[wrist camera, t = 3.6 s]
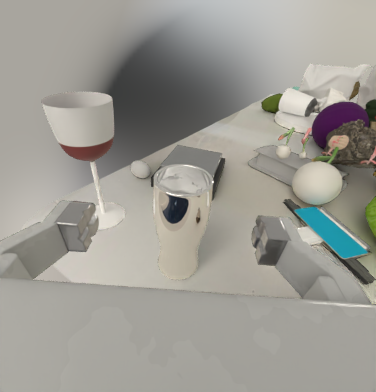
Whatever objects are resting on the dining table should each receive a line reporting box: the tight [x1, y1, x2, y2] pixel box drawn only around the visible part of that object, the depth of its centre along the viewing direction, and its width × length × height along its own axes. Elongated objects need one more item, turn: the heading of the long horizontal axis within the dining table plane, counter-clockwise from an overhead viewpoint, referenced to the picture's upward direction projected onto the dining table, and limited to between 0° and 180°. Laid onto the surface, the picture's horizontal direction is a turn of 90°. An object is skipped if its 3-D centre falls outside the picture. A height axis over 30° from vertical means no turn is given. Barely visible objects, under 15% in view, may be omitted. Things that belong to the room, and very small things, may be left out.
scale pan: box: [161, 145, 222, 178], centre depth 51 cm, size 12×12×1 cm
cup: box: [279, 88, 318, 117], centre depth 93 cm, size 10×10×13 cm
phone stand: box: [283, 199, 376, 284], centre depth 38 cm, size 20×12×2 cm, turn 15°
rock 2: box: [321, 119, 376, 169], centre depth 53 cm, size 18×14×15 cm
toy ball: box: [312, 102, 369, 149], centre depth 69 cm, size 15×15×15 cm
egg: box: [130, 161, 150, 178], centre depth 50 cm, size 4×6×4 cm, turn 49°
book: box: [248, 145, 349, 200], centre depth 57 cm, size 15×23×4 cm, turn 42°
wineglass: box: [42, 92, 125, 230], centre depth 34 cm, size 8×9×20 cm
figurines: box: [276, 127, 376, 205], centre depth 45 cm, size 25×12×15 cm
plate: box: [275, 111, 319, 135], centre depth 93 cm, size 28×28×2 cm
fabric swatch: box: [298, 63, 372, 112], centre depth 99 cm, size 24×19×25 cm
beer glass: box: [153, 164, 213, 280], centre depth 28 cm, size 7×7×15 cm
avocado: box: [262, 94, 283, 113], centre depth 105 cm, size 9×8×12 cm
